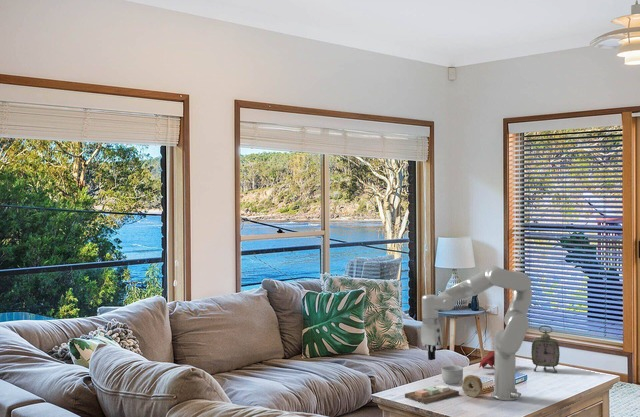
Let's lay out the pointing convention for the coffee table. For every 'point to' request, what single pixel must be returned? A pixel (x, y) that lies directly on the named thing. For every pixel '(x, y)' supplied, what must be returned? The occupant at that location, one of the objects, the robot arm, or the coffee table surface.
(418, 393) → the tile terracotta
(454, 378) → the teacup
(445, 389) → the tile cream
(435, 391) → the tile sage
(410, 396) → the brown tile tray
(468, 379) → the bagel
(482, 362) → the decorative bird sculpture
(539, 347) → the tabletop clock
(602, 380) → the coffee table surface
